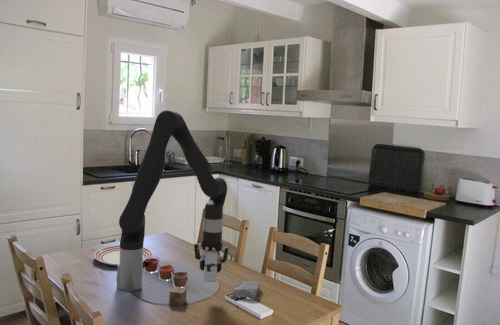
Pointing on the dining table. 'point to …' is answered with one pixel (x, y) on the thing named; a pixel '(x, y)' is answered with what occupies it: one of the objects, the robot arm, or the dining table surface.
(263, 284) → the dining table surface
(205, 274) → the ink box
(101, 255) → the dinner plate
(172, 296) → the walnut block
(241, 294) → the stone block
